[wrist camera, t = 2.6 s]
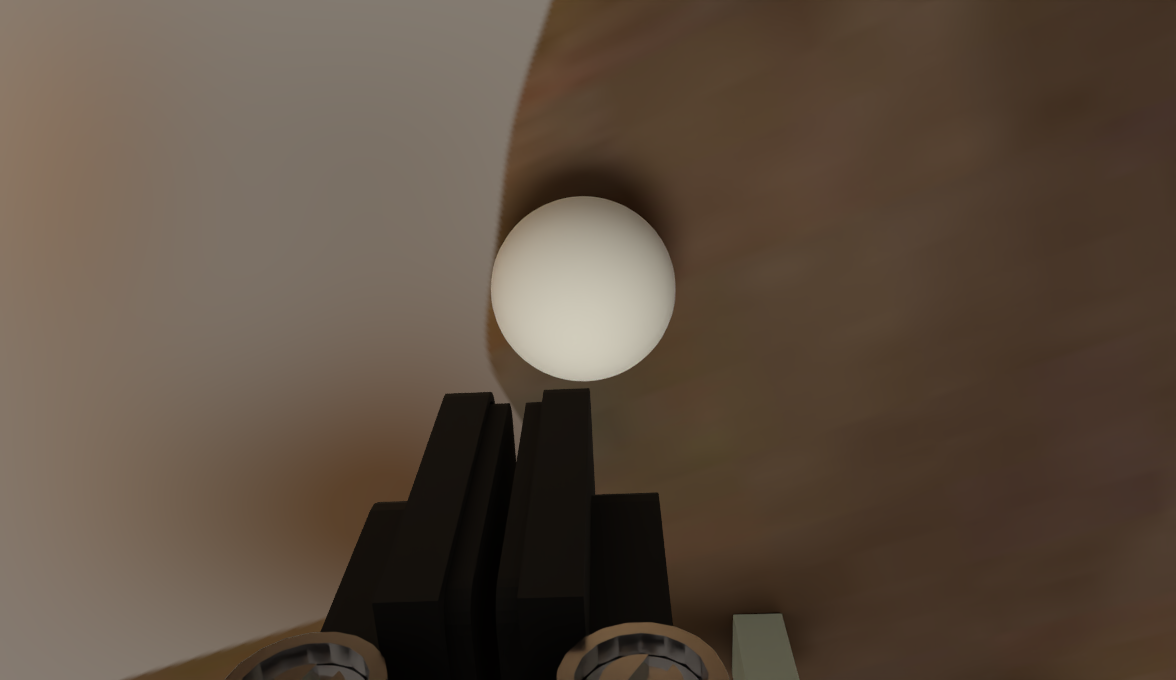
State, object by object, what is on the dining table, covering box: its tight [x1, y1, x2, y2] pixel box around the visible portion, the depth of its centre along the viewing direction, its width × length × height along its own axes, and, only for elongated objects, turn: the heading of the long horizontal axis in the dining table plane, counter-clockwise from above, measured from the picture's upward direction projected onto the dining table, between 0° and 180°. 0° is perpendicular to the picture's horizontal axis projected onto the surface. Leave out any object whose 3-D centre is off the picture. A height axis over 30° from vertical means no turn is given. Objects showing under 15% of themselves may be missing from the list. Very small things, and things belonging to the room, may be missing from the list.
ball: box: [491, 196, 675, 381], centre depth 31 cm, size 6×6×6 cm
